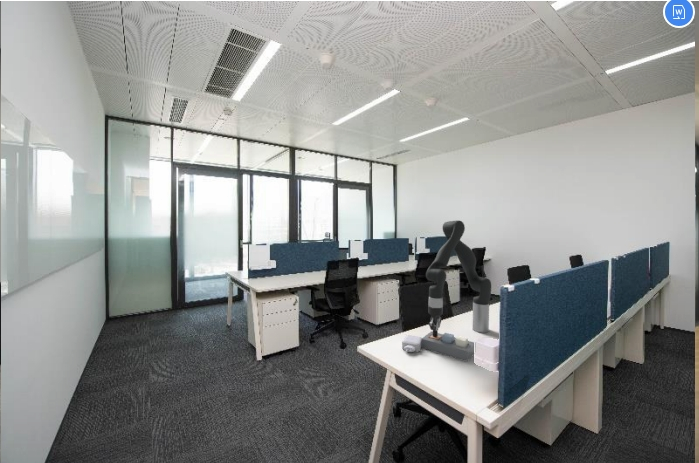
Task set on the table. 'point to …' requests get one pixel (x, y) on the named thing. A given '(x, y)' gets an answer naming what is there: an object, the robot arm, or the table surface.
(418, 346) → the charger
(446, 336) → the light blue cube
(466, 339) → the key ivory
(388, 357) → the table surface
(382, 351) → the table surface
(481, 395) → the table surface
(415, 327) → the table surface
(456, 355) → the keypad
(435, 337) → the key terracotta
